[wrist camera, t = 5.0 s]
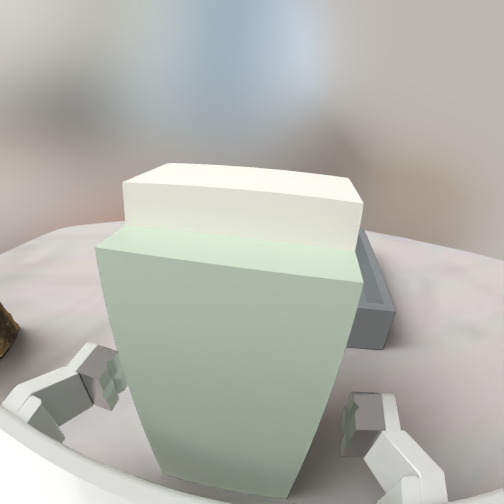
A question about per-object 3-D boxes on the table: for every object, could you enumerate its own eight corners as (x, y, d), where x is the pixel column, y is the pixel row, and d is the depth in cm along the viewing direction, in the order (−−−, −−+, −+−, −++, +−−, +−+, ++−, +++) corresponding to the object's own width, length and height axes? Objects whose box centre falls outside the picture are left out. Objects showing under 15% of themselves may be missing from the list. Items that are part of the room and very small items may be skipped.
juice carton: (297, 407, 16) (343, 170, 11) (286, 498, 11) (376, 225, 5) (197, 391, 17) (184, 157, 12) (162, 473, 12) (88, 198, 6)
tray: (358, 257, 35) (363, 229, 34) (382, 349, 21) (396, 311, 19) (207, 239, 38) (207, 211, 36) (148, 316, 23) (142, 277, 22)
